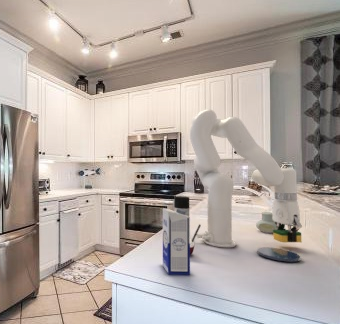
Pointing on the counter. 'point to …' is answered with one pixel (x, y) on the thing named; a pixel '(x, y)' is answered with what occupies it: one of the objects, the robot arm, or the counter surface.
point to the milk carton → (176, 242)
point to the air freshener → (266, 223)
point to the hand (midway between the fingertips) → (286, 239)
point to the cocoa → (193, 241)
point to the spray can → (182, 204)
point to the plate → (278, 254)
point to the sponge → (284, 235)
